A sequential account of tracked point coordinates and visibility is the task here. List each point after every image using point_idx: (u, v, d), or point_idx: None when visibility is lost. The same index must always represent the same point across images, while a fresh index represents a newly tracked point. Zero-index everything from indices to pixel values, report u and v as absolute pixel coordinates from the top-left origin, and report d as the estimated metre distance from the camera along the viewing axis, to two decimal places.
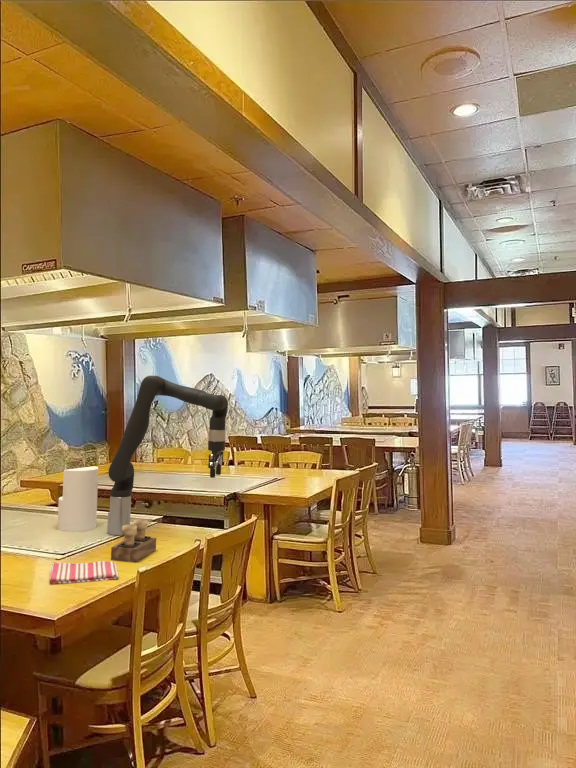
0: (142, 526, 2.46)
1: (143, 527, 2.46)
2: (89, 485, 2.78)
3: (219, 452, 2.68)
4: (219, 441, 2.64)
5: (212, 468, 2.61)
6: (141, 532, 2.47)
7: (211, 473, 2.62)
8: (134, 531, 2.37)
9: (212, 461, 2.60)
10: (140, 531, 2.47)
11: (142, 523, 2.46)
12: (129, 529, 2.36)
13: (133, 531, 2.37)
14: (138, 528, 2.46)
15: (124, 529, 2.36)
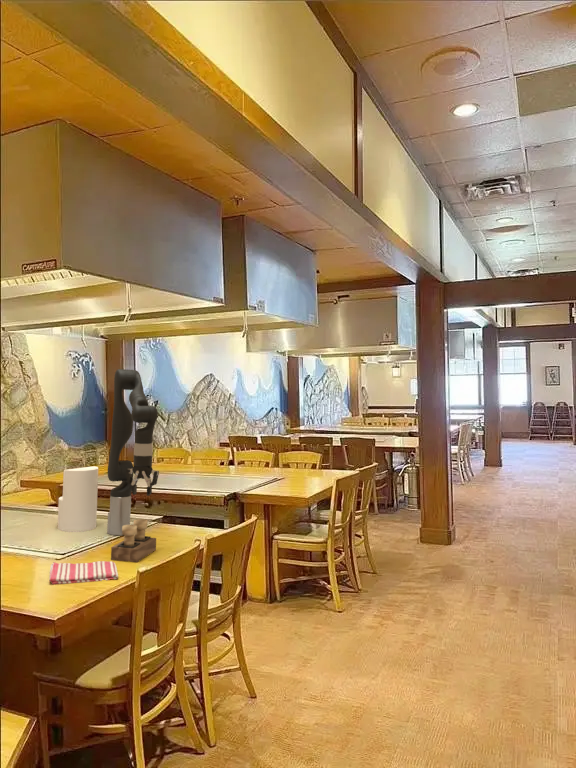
0: (142, 526, 2.46)
1: (143, 527, 2.46)
2: (89, 485, 2.78)
3: None
4: None
5: None
6: (141, 532, 2.47)
7: (150, 491, 2.47)
8: (134, 531, 2.37)
9: (157, 478, 2.48)
10: (140, 531, 2.47)
11: (142, 523, 2.46)
12: (129, 529, 2.36)
13: (133, 531, 2.37)
14: (138, 528, 2.46)
15: (124, 529, 2.36)
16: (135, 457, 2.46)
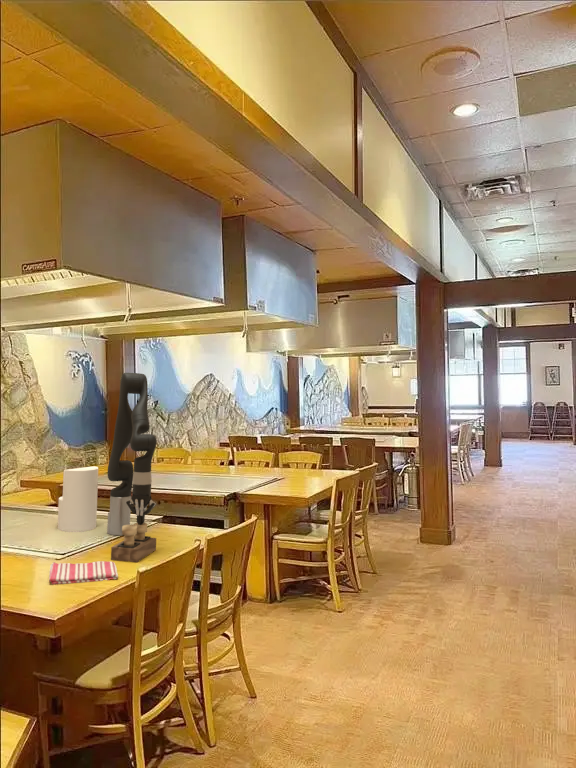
0: (142, 530, 2.46)
1: (143, 531, 2.46)
2: (89, 485, 2.78)
3: None
4: None
5: None
6: (141, 536, 2.47)
7: (143, 519, 2.48)
8: (134, 531, 2.37)
9: None
10: (140, 534, 2.47)
11: (142, 527, 2.46)
12: (129, 529, 2.36)
13: (133, 531, 2.37)
14: (138, 532, 2.46)
15: (124, 529, 2.36)
16: (134, 486, 2.46)
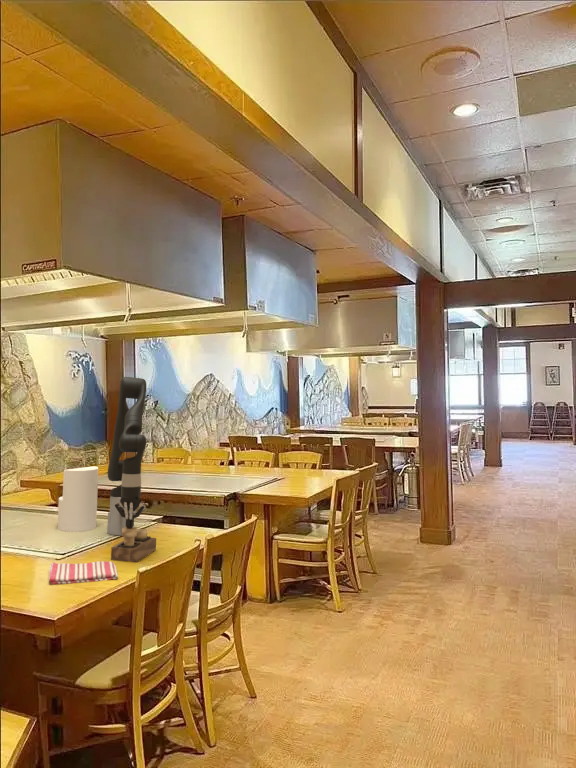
0: (142, 536, 2.46)
1: (143, 537, 2.46)
2: (89, 485, 2.78)
3: None
4: None
5: None
6: None
7: (132, 523, 2.38)
8: (134, 533, 2.37)
9: (141, 512, 2.38)
10: None
11: (142, 533, 2.46)
12: (129, 531, 2.36)
13: (133, 533, 2.37)
14: (138, 538, 2.46)
15: (124, 531, 2.36)
16: (123, 488, 2.36)
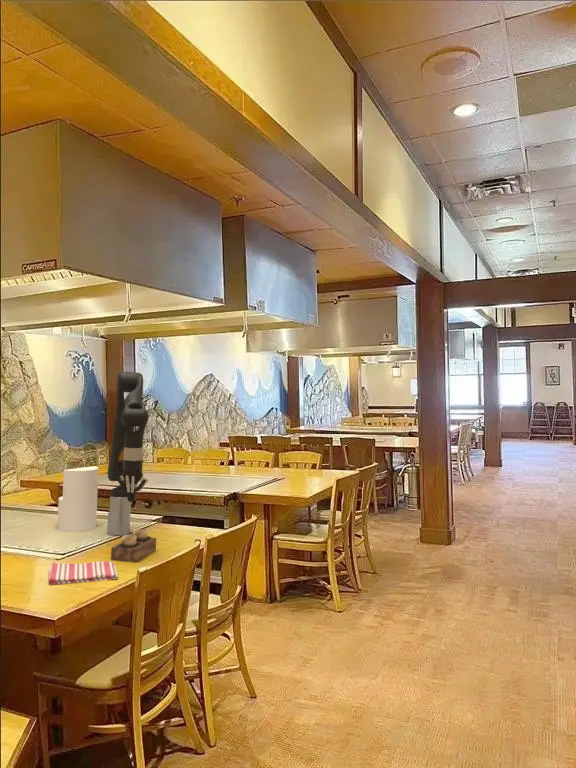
0: (142, 536, 2.46)
1: (143, 537, 2.46)
2: (89, 485, 2.78)
3: None
4: None
5: None
6: None
7: (134, 497, 2.40)
8: (134, 541, 2.37)
9: None
10: None
11: (142, 533, 2.46)
12: (129, 539, 2.36)
13: (133, 541, 2.37)
14: (138, 538, 2.46)
15: (124, 539, 2.36)
16: (125, 462, 2.38)
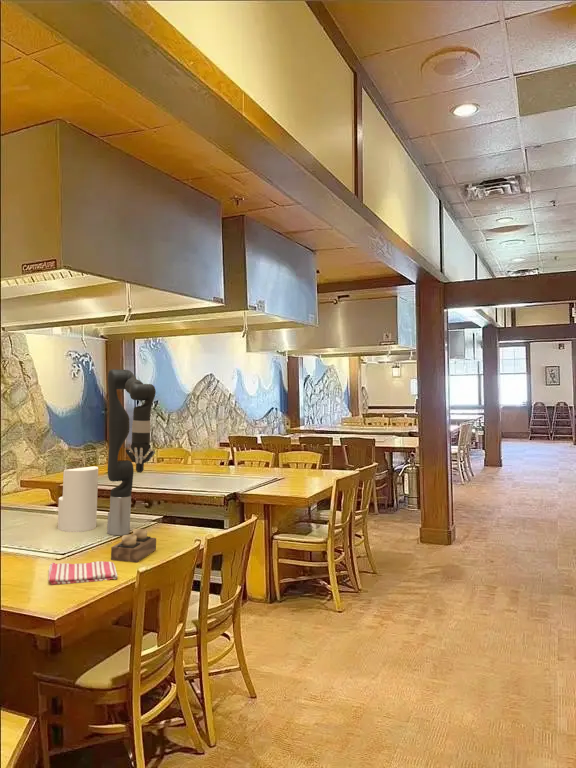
0: (142, 536, 2.46)
1: (143, 537, 2.46)
2: (89, 485, 2.78)
3: None
4: None
5: None
6: None
7: (142, 468, 2.52)
8: (134, 541, 2.37)
9: (150, 457, 2.53)
10: None
11: (142, 533, 2.46)
12: (129, 539, 2.36)
13: (133, 541, 2.37)
14: (138, 538, 2.46)
15: (124, 539, 2.36)
16: (133, 434, 2.50)
